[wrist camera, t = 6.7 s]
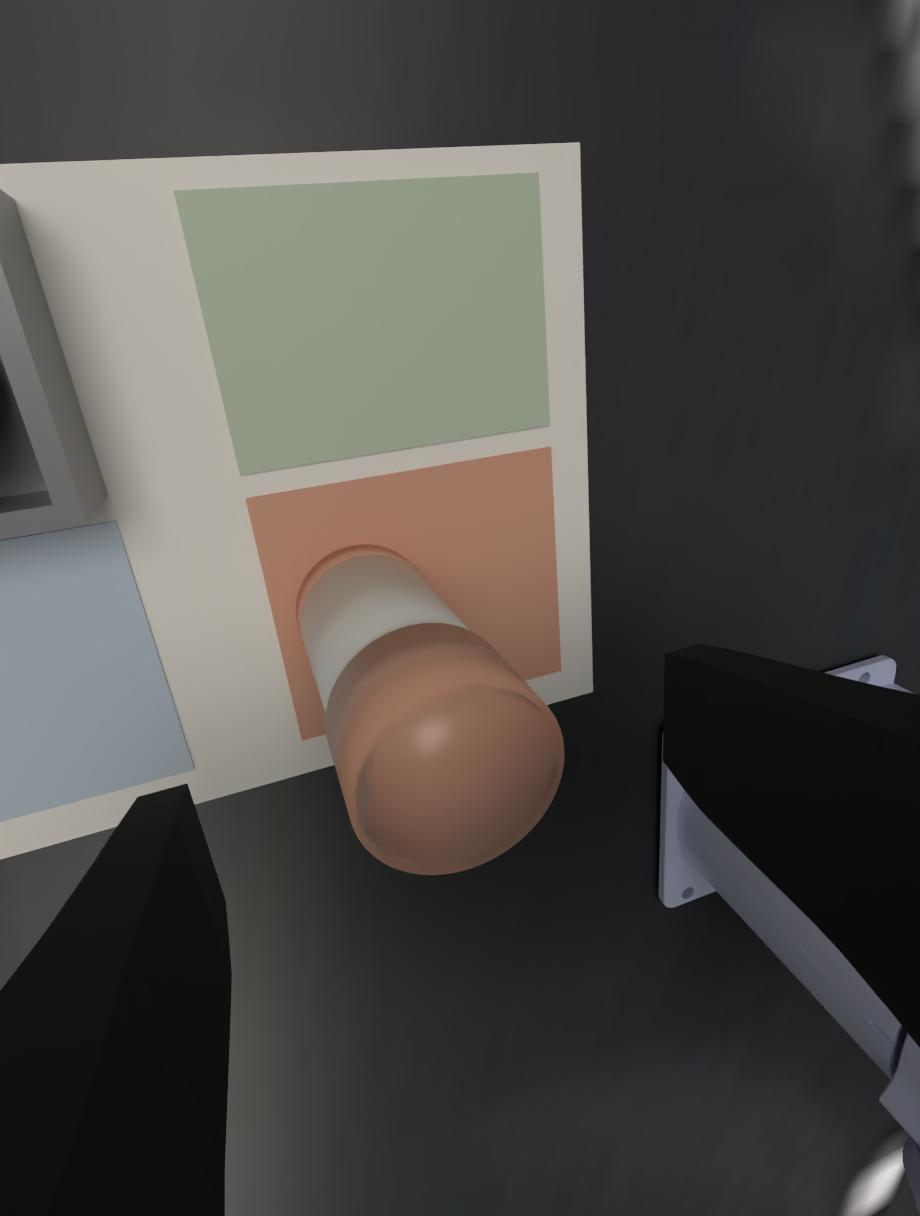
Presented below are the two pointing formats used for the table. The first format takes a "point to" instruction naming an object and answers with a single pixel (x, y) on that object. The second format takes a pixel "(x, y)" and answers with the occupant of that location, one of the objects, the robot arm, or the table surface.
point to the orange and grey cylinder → (422, 717)
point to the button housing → (38, 404)
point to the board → (287, 450)
